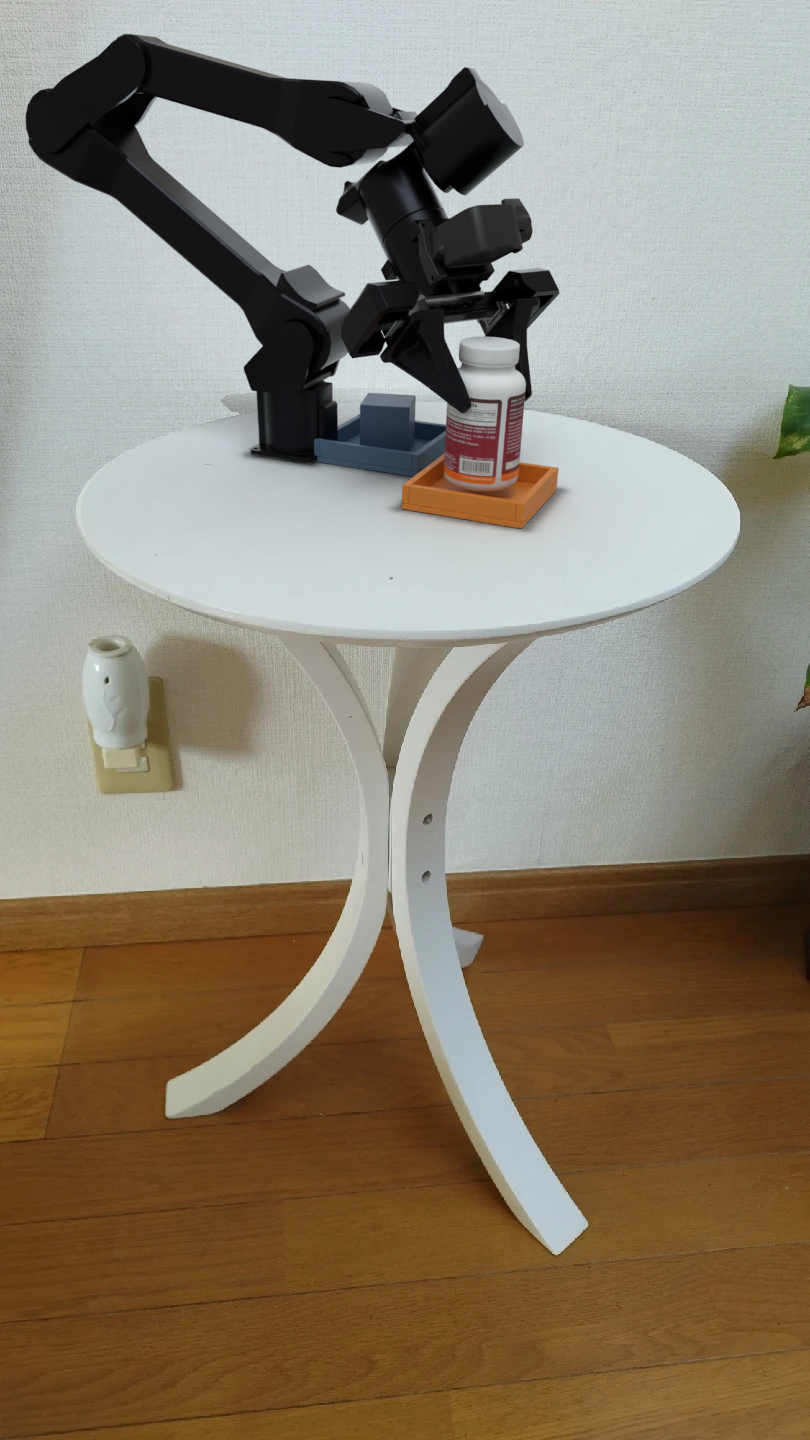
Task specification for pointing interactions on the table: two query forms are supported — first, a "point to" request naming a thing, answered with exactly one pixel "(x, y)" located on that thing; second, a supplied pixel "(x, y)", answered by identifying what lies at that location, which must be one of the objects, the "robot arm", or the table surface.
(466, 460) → the pill bottle
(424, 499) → the amber tray
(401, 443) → the slate block
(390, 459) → the slate tray
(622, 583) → the table surface
